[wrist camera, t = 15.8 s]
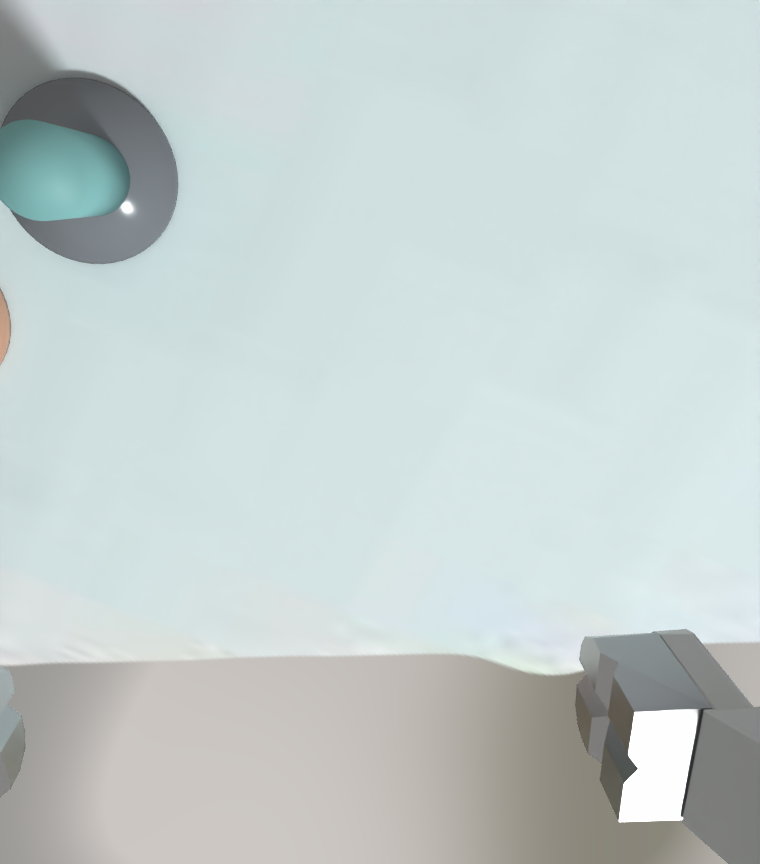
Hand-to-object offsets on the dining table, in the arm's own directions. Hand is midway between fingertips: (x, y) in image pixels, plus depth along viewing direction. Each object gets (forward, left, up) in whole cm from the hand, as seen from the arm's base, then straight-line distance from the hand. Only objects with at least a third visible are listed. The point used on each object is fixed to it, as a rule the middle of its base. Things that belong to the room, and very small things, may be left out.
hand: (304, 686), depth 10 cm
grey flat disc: (+12, -8, -31) cm, 34 cm away
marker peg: (+11, -8, -31) cm, 34 cm away
